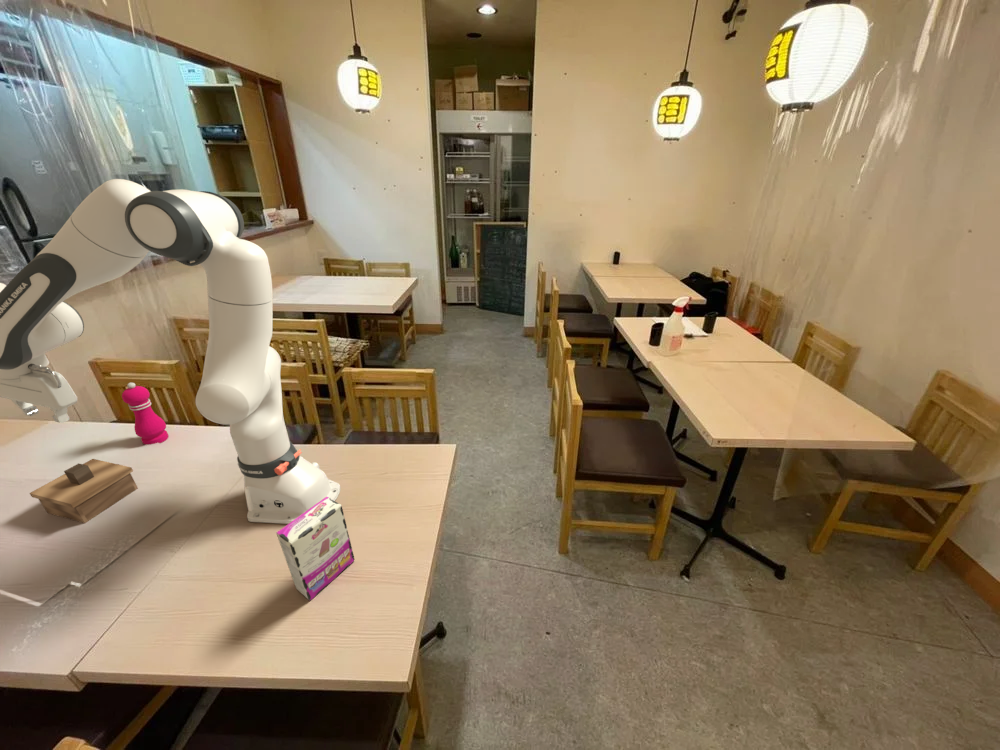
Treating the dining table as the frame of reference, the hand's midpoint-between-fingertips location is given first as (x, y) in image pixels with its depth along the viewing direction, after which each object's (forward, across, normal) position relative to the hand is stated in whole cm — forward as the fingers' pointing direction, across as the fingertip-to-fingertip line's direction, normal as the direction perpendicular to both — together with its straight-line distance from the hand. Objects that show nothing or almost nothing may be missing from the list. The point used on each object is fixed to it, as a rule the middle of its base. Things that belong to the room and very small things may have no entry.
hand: (47, 417), depth 89 cm
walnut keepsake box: (+25, 0, 0) cm, 25 cm away
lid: (+19, 0, 0) cm, 19 cm away
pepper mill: (+25, +11, -24) cm, 36 cm away
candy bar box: (+24, -68, +2) cm, 73 cm away
